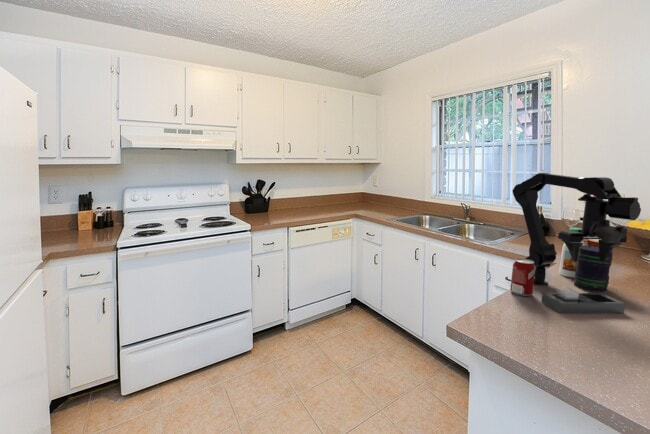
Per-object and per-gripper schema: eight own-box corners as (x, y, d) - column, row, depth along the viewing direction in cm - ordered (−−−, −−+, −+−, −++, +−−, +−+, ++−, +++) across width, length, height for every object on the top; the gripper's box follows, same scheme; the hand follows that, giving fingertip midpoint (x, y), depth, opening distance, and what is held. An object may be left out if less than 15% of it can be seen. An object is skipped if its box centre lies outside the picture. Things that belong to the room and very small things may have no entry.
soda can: (521, 298, 107) (525, 264, 106) (505, 290, 114) (508, 258, 112) (537, 296, 109) (541, 262, 107) (520, 289, 116) (524, 257, 114)
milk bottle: (554, 273, 134) (560, 227, 131) (567, 271, 136) (573, 226, 133) (573, 279, 126) (580, 230, 123) (587, 277, 129) (593, 229, 126)
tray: (541, 302, 104) (542, 293, 104) (600, 302, 104) (602, 293, 104) (559, 313, 96) (561, 303, 96) (623, 313, 97) (625, 303, 96)
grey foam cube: (564, 307, 98) (566, 292, 97) (554, 302, 102) (556, 287, 101) (576, 307, 98) (579, 292, 98) (567, 302, 102) (568, 287, 101)
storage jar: (615, 292, 113) (621, 252, 111) (587, 292, 113) (593, 251, 111) (592, 282, 123) (597, 245, 121) (566, 282, 123) (571, 245, 121)
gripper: (587, 219, 95) (580, 268, 98) (647, 219, 96) (639, 269, 98) (559, 214, 106) (554, 258, 109) (614, 214, 107) (607, 259, 109)
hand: (588, 261), depth 106 cm, fingers open, 9 cm apart
